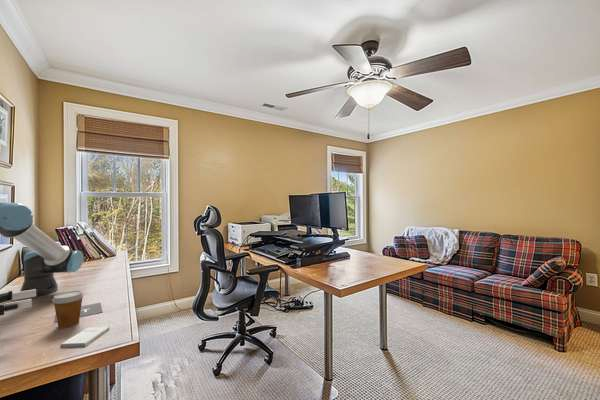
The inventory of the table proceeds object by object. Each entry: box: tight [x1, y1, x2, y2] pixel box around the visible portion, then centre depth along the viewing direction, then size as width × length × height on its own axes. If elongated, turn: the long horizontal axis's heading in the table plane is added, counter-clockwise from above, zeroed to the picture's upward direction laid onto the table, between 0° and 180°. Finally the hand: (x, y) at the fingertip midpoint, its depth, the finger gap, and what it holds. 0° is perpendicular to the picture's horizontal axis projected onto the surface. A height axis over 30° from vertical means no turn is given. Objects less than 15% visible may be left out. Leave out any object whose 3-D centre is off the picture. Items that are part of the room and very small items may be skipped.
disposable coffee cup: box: [51, 290, 85, 329], centre depth 108 cm, size 10×10×12 cm
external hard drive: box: [59, 326, 111, 348], centre depth 98 cm, size 2×8×12 cm
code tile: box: [53, 302, 103, 324], centre depth 121 cm, size 15×16×1 cm
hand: (34, 297), depth 103 cm, fingers open, 13 cm apart
